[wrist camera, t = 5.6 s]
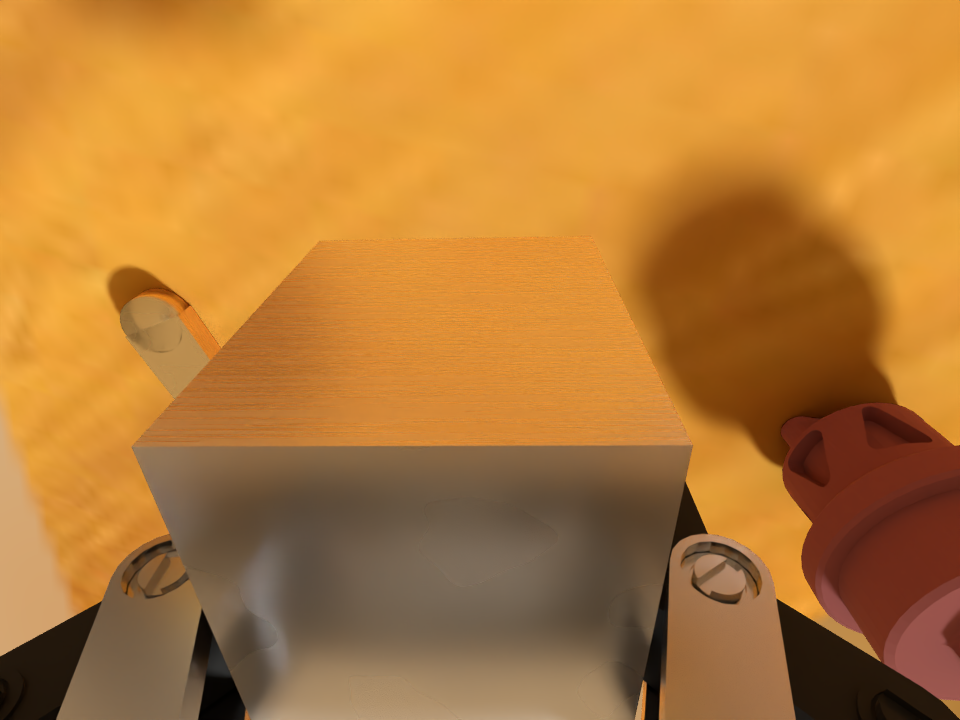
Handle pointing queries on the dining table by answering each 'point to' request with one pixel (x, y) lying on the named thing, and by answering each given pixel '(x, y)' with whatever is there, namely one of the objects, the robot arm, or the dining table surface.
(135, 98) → the dining table surface
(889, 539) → the mechanical component
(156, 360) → the brass key tag
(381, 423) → the aluminium block
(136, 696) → the robot arm
